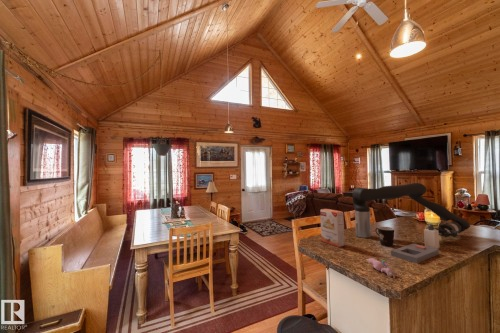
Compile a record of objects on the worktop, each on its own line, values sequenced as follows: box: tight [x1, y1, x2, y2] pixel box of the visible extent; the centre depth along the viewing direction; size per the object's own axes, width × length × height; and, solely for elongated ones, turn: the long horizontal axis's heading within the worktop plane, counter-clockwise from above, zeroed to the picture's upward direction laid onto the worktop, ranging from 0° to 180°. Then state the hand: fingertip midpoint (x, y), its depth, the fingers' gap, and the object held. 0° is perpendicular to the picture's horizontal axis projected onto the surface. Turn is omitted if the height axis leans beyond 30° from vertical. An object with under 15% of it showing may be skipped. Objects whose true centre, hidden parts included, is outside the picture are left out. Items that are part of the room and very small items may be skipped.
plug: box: [423, 223, 440, 249], centre depth 126 cm, size 5×5×13 cm
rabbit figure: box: [365, 257, 400, 279], centre depth 99 cm, size 6×6×15 cm
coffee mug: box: [374, 226, 395, 248], centre depth 134 cm, size 12×9×10 cm
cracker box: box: [319, 208, 346, 248], centre depth 139 cm, size 14×6×21 cm, turn 27°
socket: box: [390, 243, 440, 264], centre depth 116 cm, size 22×12×3 cm, turn 118°
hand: (436, 233), depth 129 cm, fingers open, 8 cm apart
